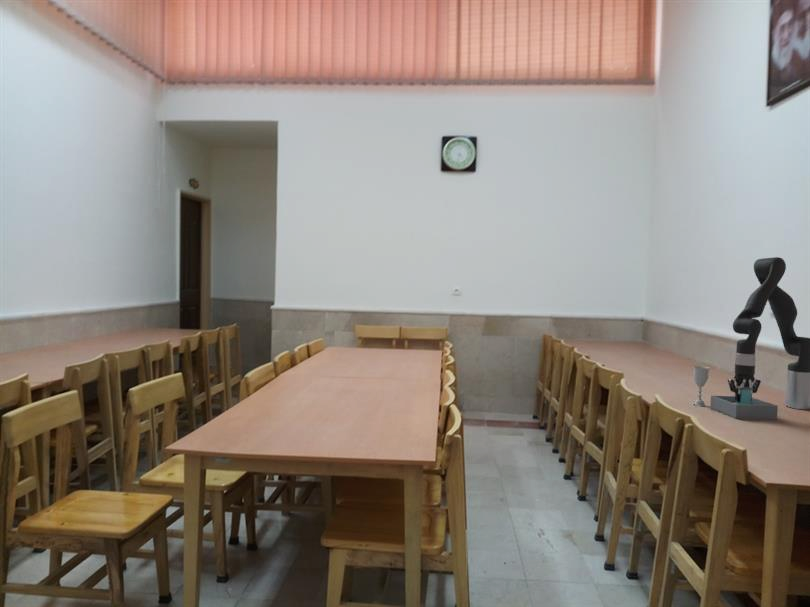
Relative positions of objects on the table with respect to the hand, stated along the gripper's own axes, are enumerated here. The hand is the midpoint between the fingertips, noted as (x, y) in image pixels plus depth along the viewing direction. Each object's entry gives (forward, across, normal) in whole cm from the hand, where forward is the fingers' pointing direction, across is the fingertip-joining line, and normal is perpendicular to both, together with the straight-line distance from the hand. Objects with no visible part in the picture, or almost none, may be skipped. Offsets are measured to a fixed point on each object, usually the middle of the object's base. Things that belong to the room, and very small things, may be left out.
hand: (743, 401), depth 238 cm
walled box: (+5, 0, 0) cm, 5 cm away
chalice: (+6, +10, -16) cm, 20 cm away
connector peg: (+3, 0, 0) cm, 3 cm away
